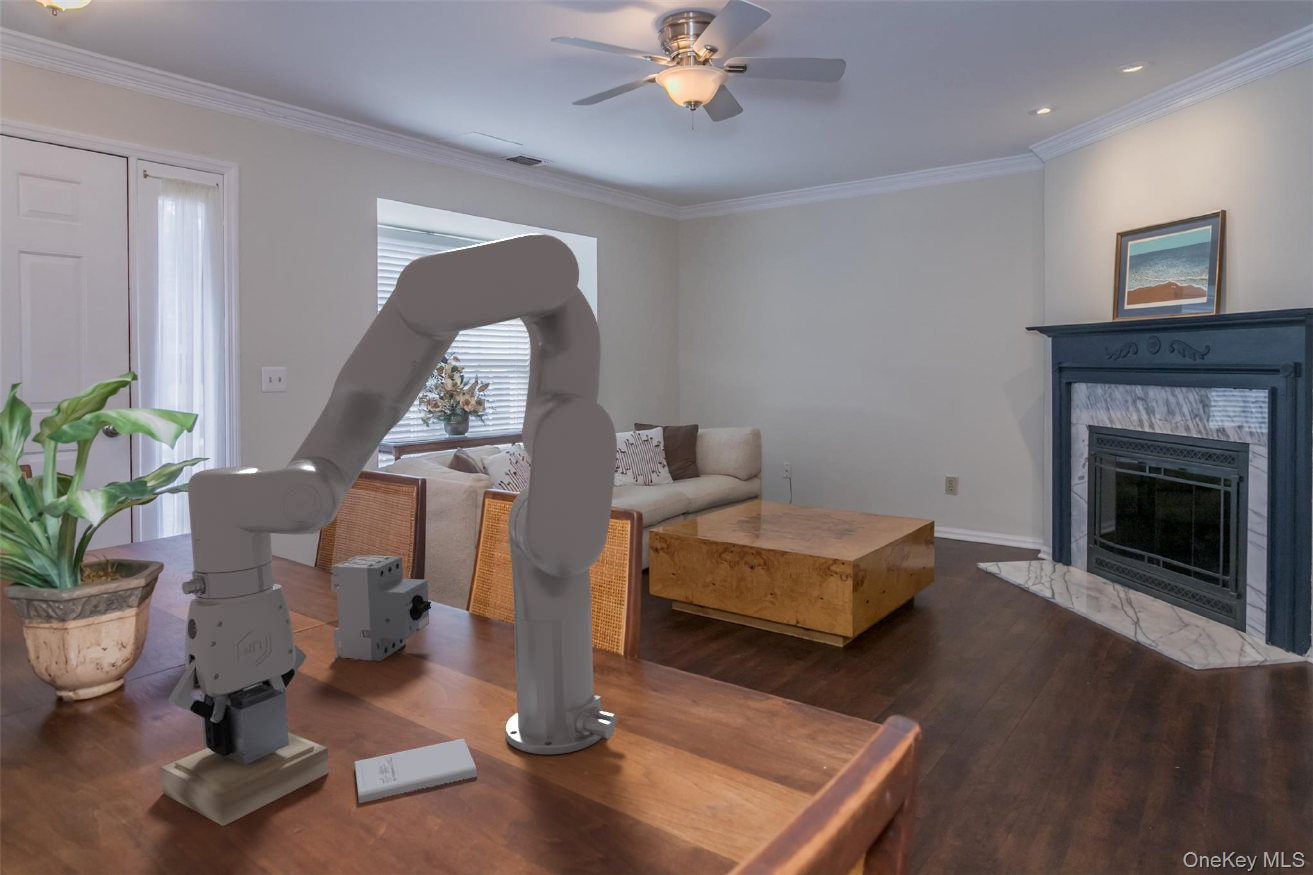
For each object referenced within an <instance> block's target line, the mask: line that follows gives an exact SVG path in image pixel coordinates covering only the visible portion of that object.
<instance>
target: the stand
mask: <svg viewBox="0 0 1313 875" xmlns="http://www.w3.org/2000/svg"><path fill="white" fill-rule="evenodd" d="M288 740H289V745H288V746H285V747H283V748H281V749H279V750H277V751H274V752H272V753H270V754H268V755H265V756H263V757H261V758H259V759H256V760H254V761H252V762H250V763H248V764H245V765H244V764H242V763H240V762H237V761H235V760H233V759H231V758H228V757H226V756H225V757H224V756H222V755H219V754H217V753H215V752H213V751H211V750H210V749H208V748H206V747H205V748H204V749H202V750H199V751H197V752H193V753H192V754H190V755H187V756H185V757H182V758H180V759H178V760H175V761H173V762H170V763H167V764H165V765H163V766H160V772H161V784H162V794H163V795H165V796H167V797H168V798H170V799H172V800H173V801H176V802H178V803H180V804H182V805H184V806H185V807H187V808H189V809H190V810H193V811H195V812H196V813H198V814H200V815H201V816H204V817H205V818H207V819H209V820H211V821H212V822H214V823H216V824H219V826H221V827H225V826H226V825H229V824H230V823H232V822H234V821H237V820H238V819H241V818H242V817H244V816H246V815H249V814H250V813H253V812H255V811H256V810H258V809H260V808H263V807H264V806H266V805H268V804H270V803H272V802H274V801H276V800H278V799H280V798H282V797H285V796H286V795H288V794H291V793H292V792H294V791H296V790H298V789H300V788H302V787H304V786H306V785H308V784H311V783H312V782H314V781H316V780H318V779H320V778H322V777H324V776H326V775H328V774H330V770H329V769H330V766H329V752H328V751H329V749H328V747H327V746H325V745H321V744H319V743H316V742H314V741H311V740H309V739H306V738H304V737H301V736H299V735H296V734H294V733H291V732H289V731H288Z"/></svg>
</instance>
